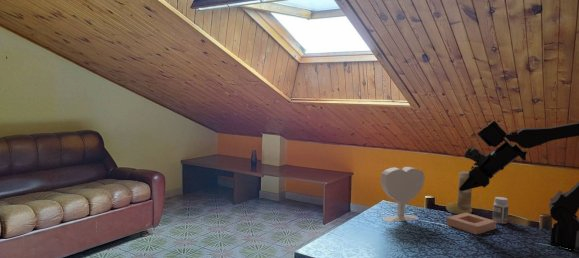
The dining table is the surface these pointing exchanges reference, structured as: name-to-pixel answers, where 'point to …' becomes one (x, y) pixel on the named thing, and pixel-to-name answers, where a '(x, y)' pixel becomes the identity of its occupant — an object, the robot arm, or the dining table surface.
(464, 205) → the beech peg
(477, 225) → the socket collar
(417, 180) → the heart sculpture
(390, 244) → the dining table surface
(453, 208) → the bread roll
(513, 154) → the robot arm
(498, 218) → the pill bottle
